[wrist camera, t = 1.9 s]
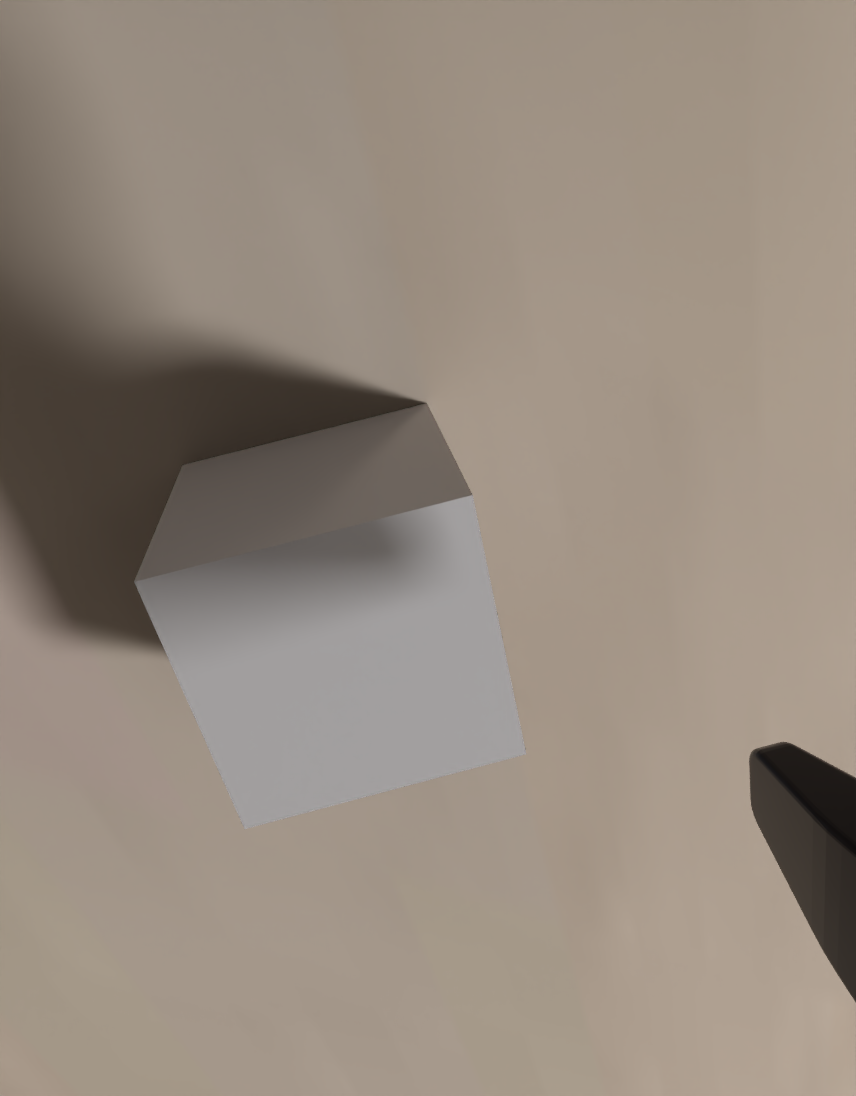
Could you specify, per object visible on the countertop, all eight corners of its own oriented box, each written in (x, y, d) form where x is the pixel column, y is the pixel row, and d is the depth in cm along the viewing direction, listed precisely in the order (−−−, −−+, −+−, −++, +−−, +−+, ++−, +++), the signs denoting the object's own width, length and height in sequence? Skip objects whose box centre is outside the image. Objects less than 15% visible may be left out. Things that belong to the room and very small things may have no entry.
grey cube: (426, 401, 16) (472, 495, 11) (472, 609, 18) (526, 754, 14) (183, 463, 16) (133, 581, 11) (260, 664, 18) (244, 829, 14)
